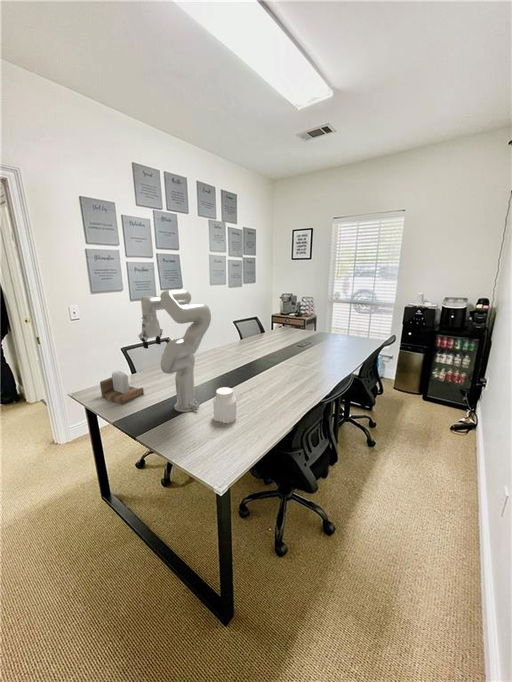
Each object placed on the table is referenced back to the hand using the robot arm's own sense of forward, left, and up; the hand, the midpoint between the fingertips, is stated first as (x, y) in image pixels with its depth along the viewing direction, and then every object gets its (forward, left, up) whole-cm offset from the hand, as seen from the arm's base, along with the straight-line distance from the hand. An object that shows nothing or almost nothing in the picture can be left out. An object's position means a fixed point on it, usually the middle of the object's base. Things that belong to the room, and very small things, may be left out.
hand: (152, 346), depth 165 cm
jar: (-55, +8, -28) cm, 62 cm away
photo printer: (+12, +15, -26) cm, 32 cm away
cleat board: (+10, +15, -28) cm, 34 cm away
